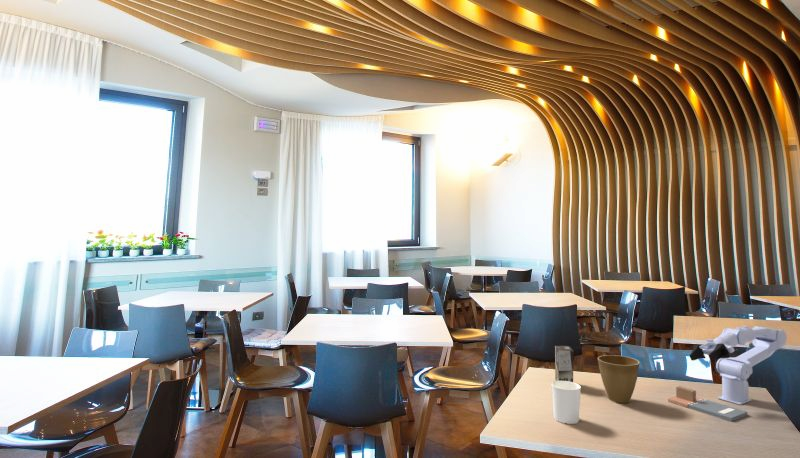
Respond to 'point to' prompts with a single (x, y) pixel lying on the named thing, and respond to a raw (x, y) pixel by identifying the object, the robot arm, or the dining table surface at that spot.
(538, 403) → the dining table surface
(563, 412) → the candle holder
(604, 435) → the dining table surface
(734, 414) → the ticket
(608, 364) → the plant pot
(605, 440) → the dining table surface
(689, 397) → the stub
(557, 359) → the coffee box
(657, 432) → the dining table surface
